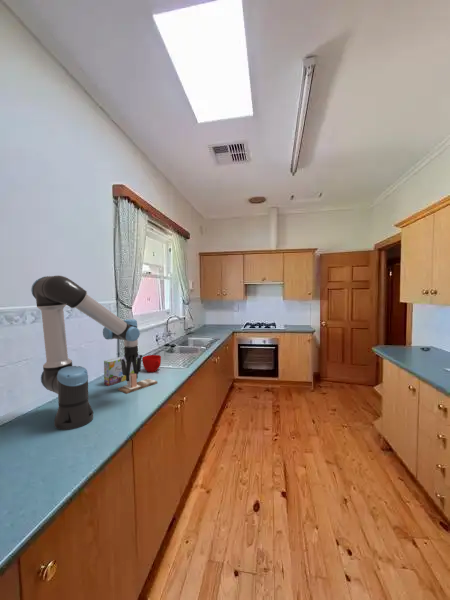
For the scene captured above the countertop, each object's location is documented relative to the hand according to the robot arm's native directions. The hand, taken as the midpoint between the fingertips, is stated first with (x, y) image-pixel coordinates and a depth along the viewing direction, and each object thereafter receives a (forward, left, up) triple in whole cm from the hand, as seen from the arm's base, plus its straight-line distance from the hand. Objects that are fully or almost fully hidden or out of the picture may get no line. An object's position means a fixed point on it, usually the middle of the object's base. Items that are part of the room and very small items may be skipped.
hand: (132, 385), depth 160 cm
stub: (0, 0, -1) cm, 1 cm away
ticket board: (+4, 0, -2) cm, 5 cm away
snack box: (+4, +19, -2) cm, 19 cm away
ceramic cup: (+29, +18, -2) cm, 34 cm away
